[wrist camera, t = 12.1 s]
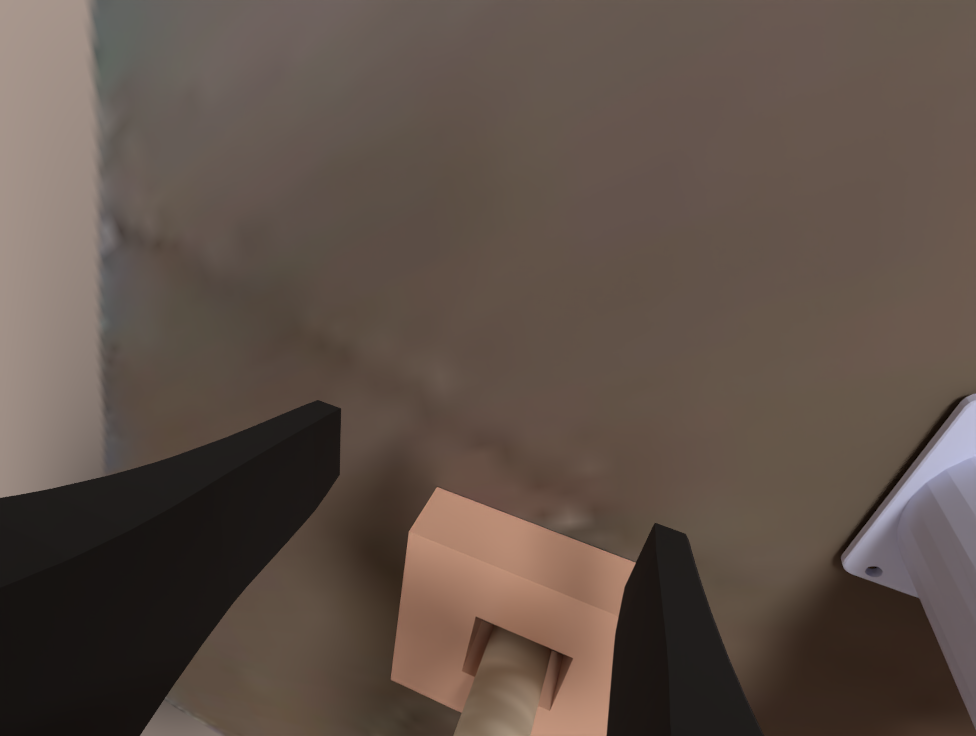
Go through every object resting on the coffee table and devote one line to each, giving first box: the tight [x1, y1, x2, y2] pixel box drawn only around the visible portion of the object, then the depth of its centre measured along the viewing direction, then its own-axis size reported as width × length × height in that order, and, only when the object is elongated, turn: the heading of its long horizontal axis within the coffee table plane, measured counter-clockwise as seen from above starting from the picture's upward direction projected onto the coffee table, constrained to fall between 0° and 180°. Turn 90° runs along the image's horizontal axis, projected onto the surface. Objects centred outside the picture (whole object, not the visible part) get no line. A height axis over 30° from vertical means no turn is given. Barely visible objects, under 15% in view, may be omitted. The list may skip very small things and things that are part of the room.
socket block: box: [391, 487, 636, 736], centre depth 26 cm, size 12×12×3 cm
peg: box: [454, 625, 552, 736], centre depth 24 cm, size 3×3×8 cm
